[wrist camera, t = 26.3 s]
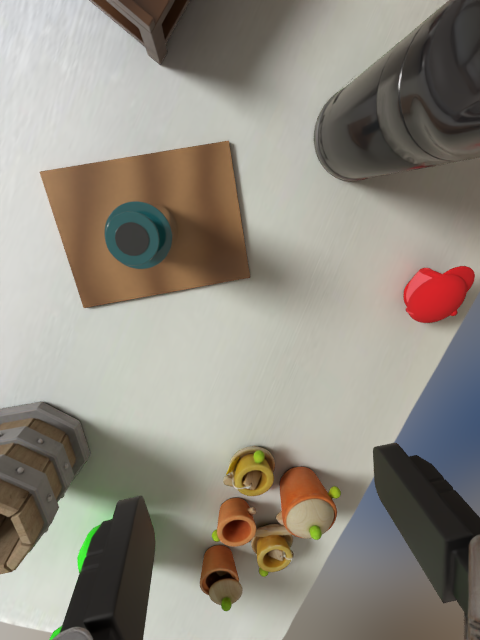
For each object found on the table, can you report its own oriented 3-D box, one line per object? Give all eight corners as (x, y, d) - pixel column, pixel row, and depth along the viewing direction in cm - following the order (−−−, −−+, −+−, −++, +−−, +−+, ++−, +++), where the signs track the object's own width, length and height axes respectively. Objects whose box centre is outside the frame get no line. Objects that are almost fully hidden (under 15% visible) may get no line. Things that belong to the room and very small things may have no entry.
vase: (143, 191, 38) (117, 184, 26) (188, 223, 39) (183, 230, 28) (115, 236, 39) (79, 248, 27) (160, 265, 40) (144, 289, 29)
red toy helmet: (425, 323, 47) (456, 339, 41) (388, 308, 45) (415, 322, 40) (457, 268, 45) (494, 277, 39) (419, 250, 43) (452, 257, 38)
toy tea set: (235, 433, 49) (242, 485, 40) (333, 453, 52) (362, 506, 43) (186, 568, 56) (183, 638, 47) (276, 579, 59) (289, 647, 50)
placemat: (228, 141, 37) (228, 140, 37) (249, 276, 42) (250, 277, 42) (41, 172, 36) (39, 171, 36) (85, 307, 41) (83, 308, 41)
